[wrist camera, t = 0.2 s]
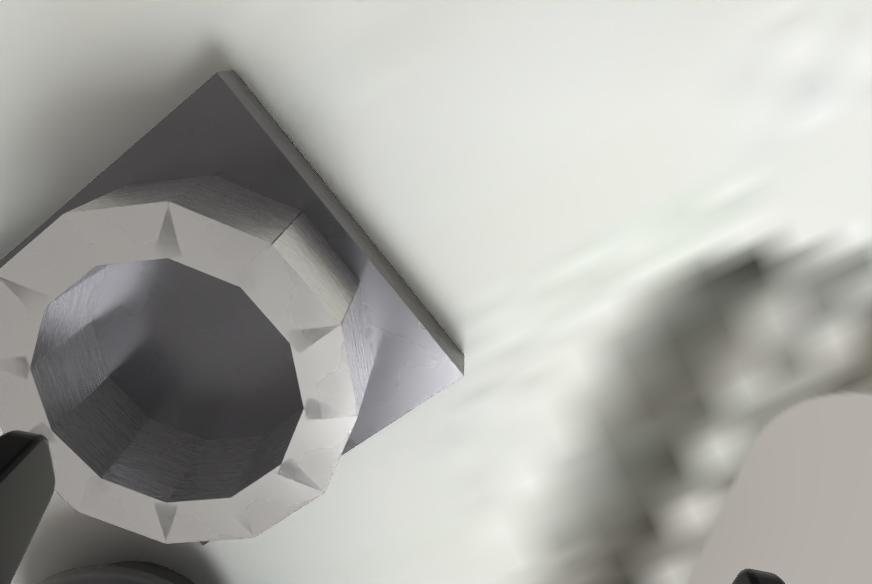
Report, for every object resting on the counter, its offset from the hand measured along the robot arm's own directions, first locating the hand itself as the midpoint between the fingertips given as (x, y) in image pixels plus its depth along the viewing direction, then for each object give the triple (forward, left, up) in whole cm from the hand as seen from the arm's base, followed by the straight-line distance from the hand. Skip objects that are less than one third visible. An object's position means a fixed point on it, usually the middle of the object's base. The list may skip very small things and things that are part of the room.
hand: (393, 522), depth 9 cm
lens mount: (-8, +2, -15) cm, 17 cm away
